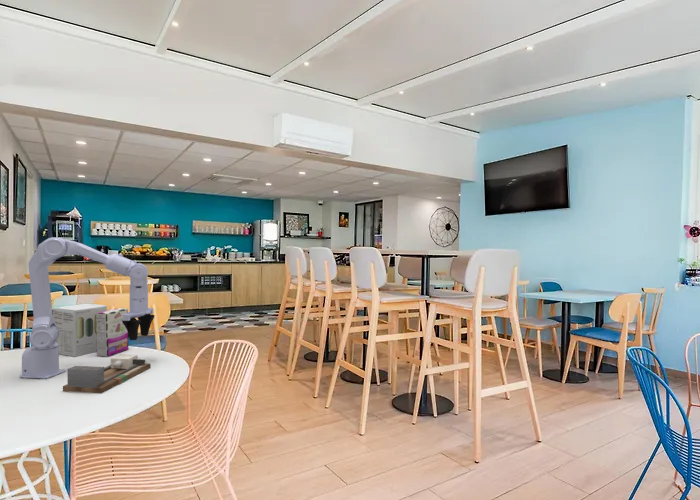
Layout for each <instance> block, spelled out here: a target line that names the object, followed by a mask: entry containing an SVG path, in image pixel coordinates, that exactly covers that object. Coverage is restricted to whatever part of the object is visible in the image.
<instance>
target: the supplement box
mask: <svg viewBox="0 0 700 500" xmlns="http://www.w3.org/2000/svg"><path fill="white" fill-rule="evenodd" d="M103 311H108V305H105V304H98V303H97V304H95V303H88V302H87V303H86V302H85V303H80V304H71V305H65V306H59V307H58V306H57V307H52V314H53V317H54V319H55V324H56V326H57V327H58V329H59V336H58V338H57V339H56V341H57V343H58V344H59V355H62V356H63V355H64V356H68V357H73V358H77V357H80V356H84V355H85V356H86V355H88V354H92V353H96V352H97V328H96V327H97V326H96V313H99V312H103Z"/></svg>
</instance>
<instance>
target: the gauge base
mask: <svg viewBox="0 0 700 500" xmlns="http://www.w3.org/2000/svg"><path fill="white" fill-rule="evenodd" d="M151 366H152V365H151V362H150V363H146V362H145V365H134V366H132V367H130V368H128V369H118V368H116V369H115V368H111V364H110V365H107V366H105V367H104V384H103V385H101V386H99V387H97V388H92V387H71V386H68V383H67V384H64V385H63V386H62V392H68V393H69V392H70V393H89V394H90V393H91V394H92V393H94V394H103V393H105V392H107V391H109V390H111V389H113V388H115V387H117V386H119V385H121V384H123V383H125V382H127V381H128V380H130V379H133V378H134V377H136V376H137V375H140V374H142V373H144V372H145V371H147V370H149V369H151Z"/></svg>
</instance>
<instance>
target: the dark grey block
mask: <svg viewBox="0 0 700 500" xmlns="http://www.w3.org/2000/svg"><path fill="white" fill-rule="evenodd" d="M104 368H105V367H104V366H88V365H87V366H86V365H85V366H84V365H74V366H72V367H69V368H67V370H66V371H67V375H66V376H67V384H68V386H71V387H92V388H97V387H99V386H101V385H103V384H104Z"/></svg>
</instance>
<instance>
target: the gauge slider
mask: <svg viewBox="0 0 700 500" xmlns="http://www.w3.org/2000/svg"><path fill="white" fill-rule="evenodd" d="M138 356H139V355H138V354H126V353H125V354H124V353H123V354H120V353H119V354H117V355H116V356H114V357H111V358H110V365H111V368H115V369H116V368H118V369H128V368H130V367H132V366H134V365H145V363H146V359H140V358H139V357H138Z"/></svg>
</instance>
